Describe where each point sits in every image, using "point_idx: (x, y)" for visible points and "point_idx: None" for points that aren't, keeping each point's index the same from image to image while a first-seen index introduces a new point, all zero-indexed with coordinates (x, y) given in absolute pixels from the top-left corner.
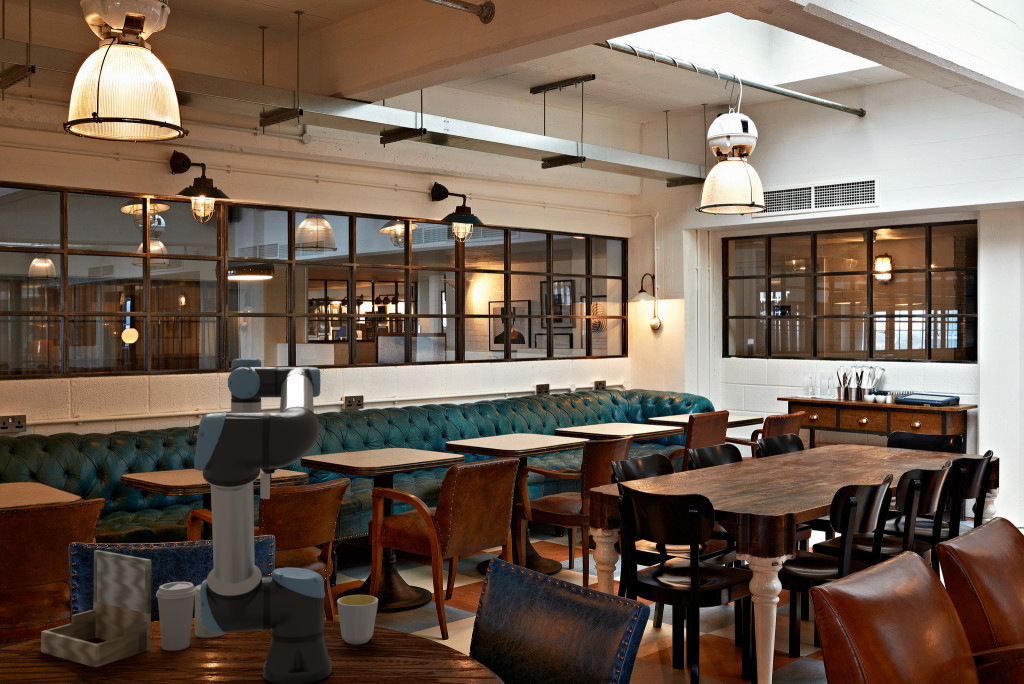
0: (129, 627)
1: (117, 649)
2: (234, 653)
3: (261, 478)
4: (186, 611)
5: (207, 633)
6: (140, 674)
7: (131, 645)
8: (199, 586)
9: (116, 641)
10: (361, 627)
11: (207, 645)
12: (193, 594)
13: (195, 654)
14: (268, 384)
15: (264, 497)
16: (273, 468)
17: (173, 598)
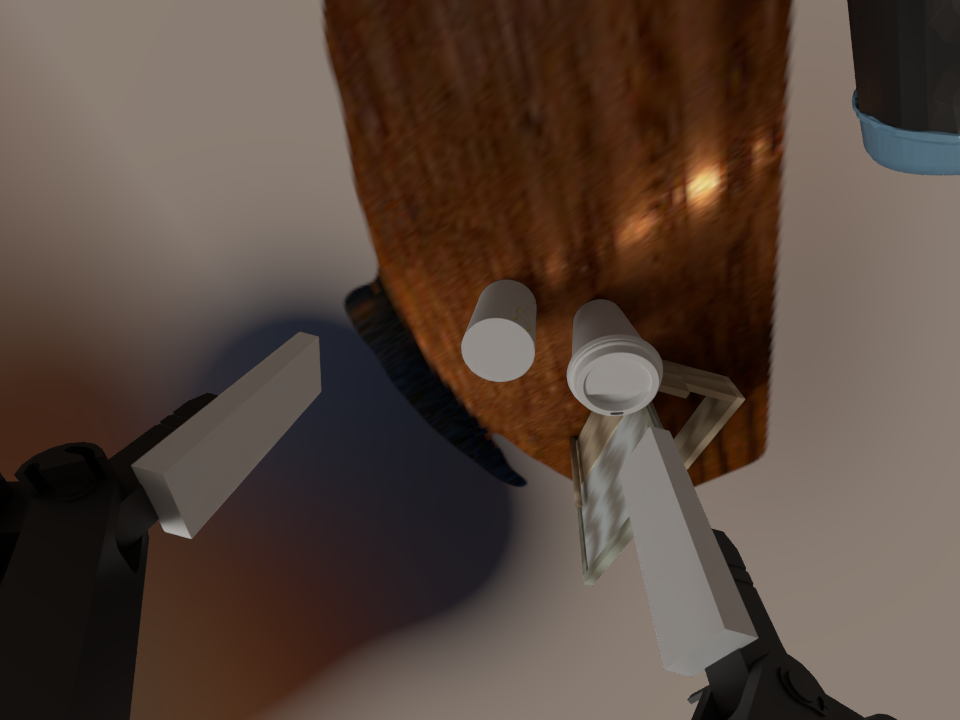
0: (682, 390)
1: (694, 376)
2: (621, 183)
3: (226, 489)
4: (624, 327)
5: (534, 301)
6: (770, 289)
7: (667, 369)
8: (506, 374)
9: (702, 385)
10: None
11: (580, 270)
12: (618, 335)
13: (639, 260)
14: None
15: (316, 365)
16: (1, 505)
17: (660, 359)
